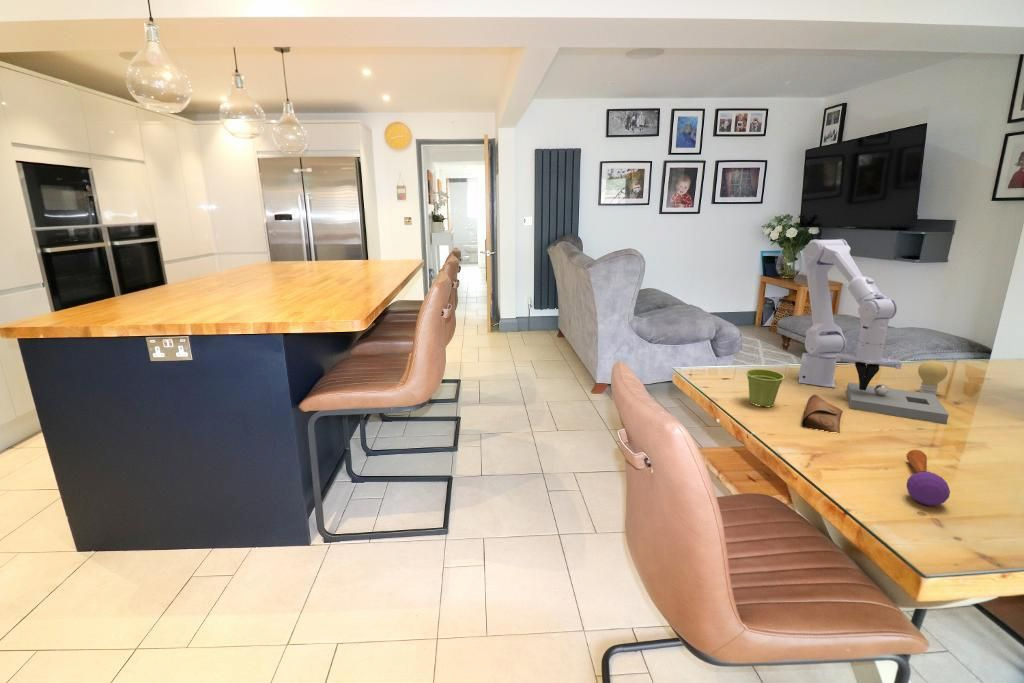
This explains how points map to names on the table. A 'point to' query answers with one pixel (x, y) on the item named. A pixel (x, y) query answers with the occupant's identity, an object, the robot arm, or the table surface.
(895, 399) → the hole deck
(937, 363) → the light bulb
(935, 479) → the purple maraca
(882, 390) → the steel ball
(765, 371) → the plant pot
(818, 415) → the sunglasses case
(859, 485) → the table surface
